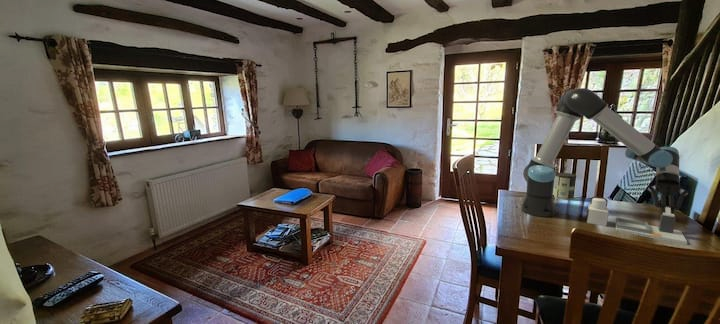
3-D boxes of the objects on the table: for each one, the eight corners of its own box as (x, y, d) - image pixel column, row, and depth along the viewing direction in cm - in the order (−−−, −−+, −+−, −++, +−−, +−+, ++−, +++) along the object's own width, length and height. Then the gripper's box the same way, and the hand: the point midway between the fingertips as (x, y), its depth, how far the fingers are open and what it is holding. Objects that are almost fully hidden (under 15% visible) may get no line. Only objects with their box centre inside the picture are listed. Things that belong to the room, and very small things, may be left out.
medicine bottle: (586, 218, 144) (589, 194, 141) (605, 221, 140) (608, 197, 137) (586, 223, 138) (590, 198, 136) (606, 226, 134) (610, 201, 132)
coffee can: (568, 195, 180) (571, 172, 177) (577, 200, 170) (580, 176, 167) (549, 194, 182) (552, 172, 179) (557, 199, 172) (559, 176, 170)
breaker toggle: (659, 231, 125) (662, 214, 124) (658, 228, 127) (661, 212, 126) (672, 233, 123) (676, 216, 121) (671, 231, 125) (674, 214, 123)
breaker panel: (616, 231, 129) (617, 225, 128) (615, 221, 139) (616, 216, 138) (686, 244, 116) (687, 238, 115) (680, 233, 126) (681, 227, 125)
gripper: (685, 182, 135) (687, 229, 125) (646, 179, 143) (644, 222, 133) (690, 173, 130) (692, 221, 120) (649, 170, 138) (648, 214, 128)
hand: (667, 222), depth 127 cm, fingers closed
